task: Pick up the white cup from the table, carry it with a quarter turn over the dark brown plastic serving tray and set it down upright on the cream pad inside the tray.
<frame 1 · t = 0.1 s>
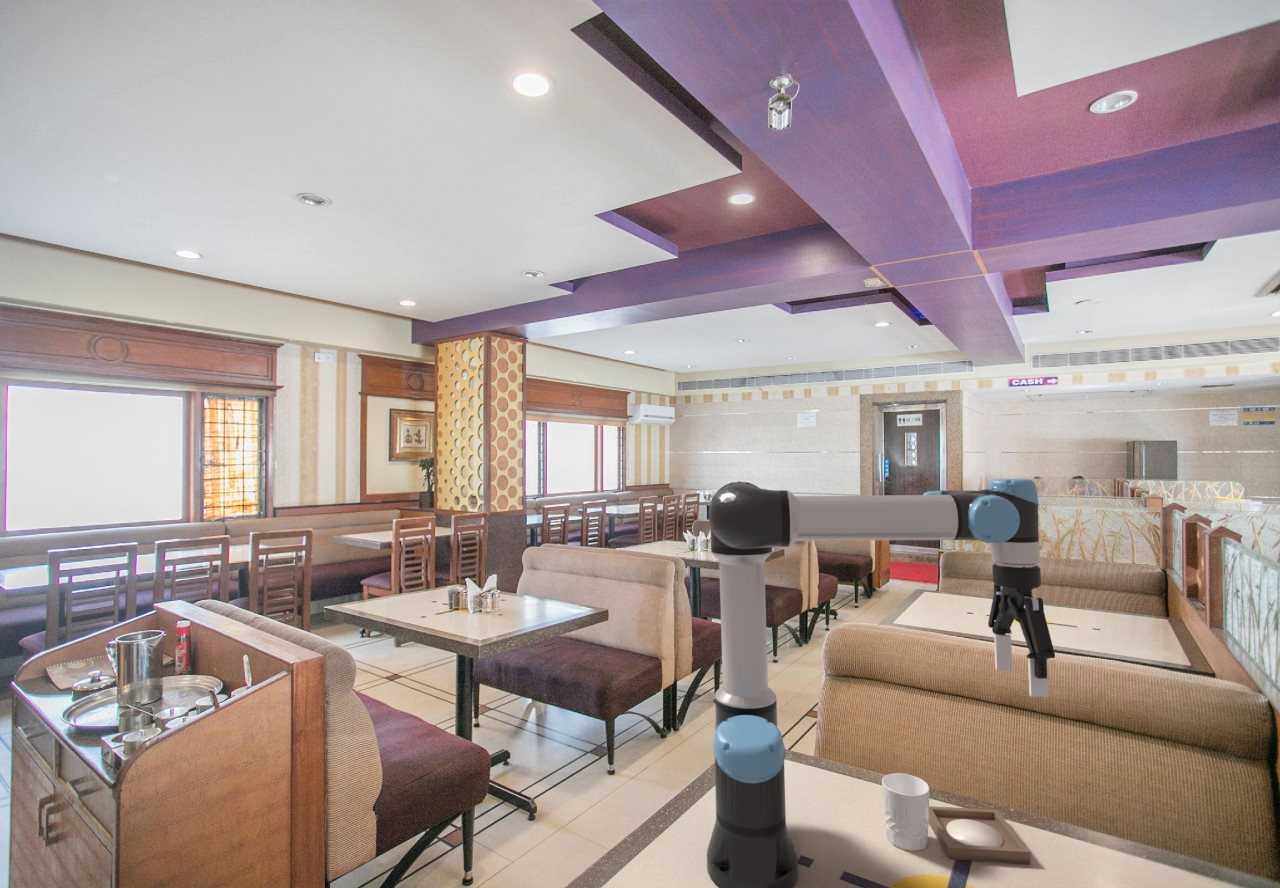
hand: (1020, 682, 114), 28 cm above the table, tool pointing down, fingers open, 13 cm apart
tray: (974, 838, 113), on the table
white cup: (907, 841, 114), on the table
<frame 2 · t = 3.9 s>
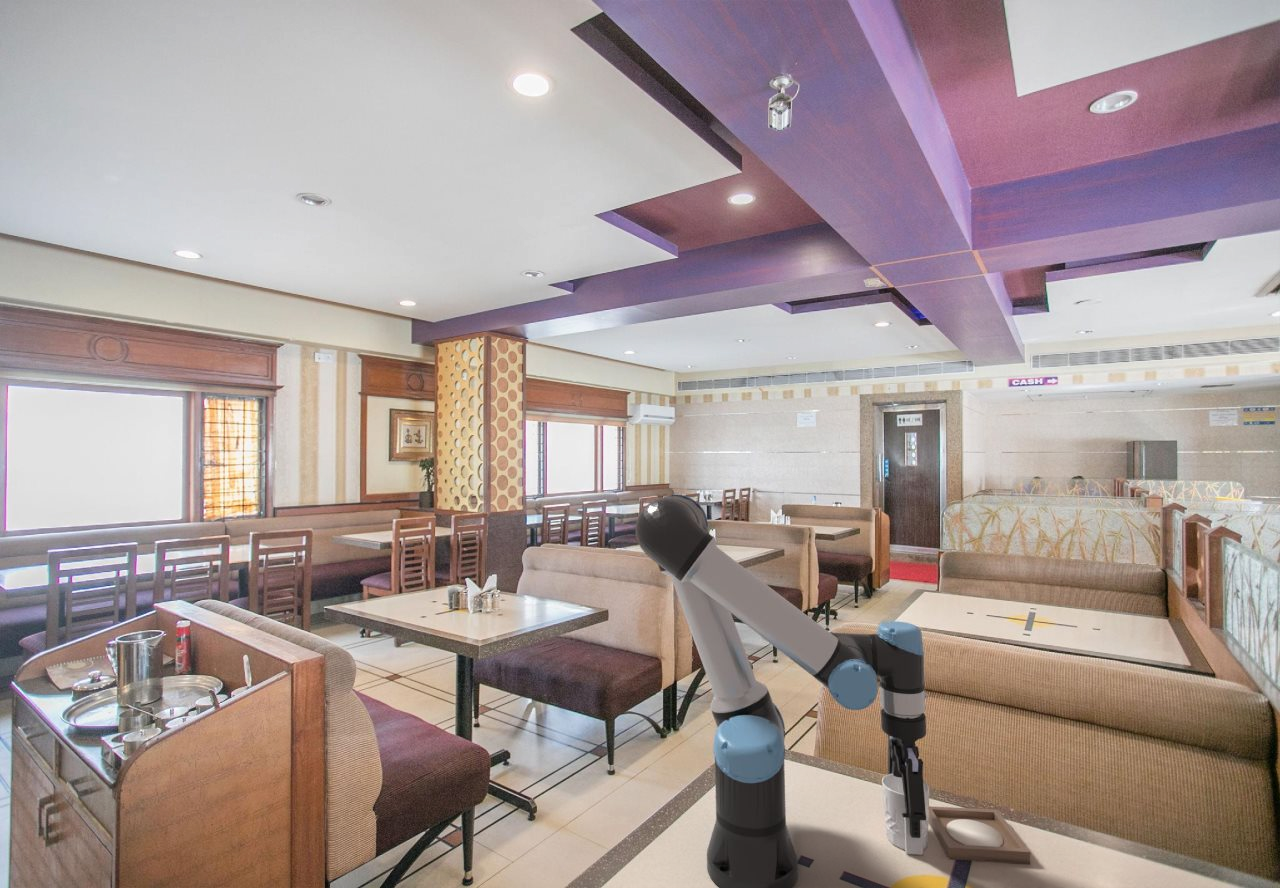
hand: (907, 838, 114), 0 cm above the table, tool pointing down, fingers closed on white cup, 8 cm apart
white cup: (907, 841, 114), on the table, touching gripper
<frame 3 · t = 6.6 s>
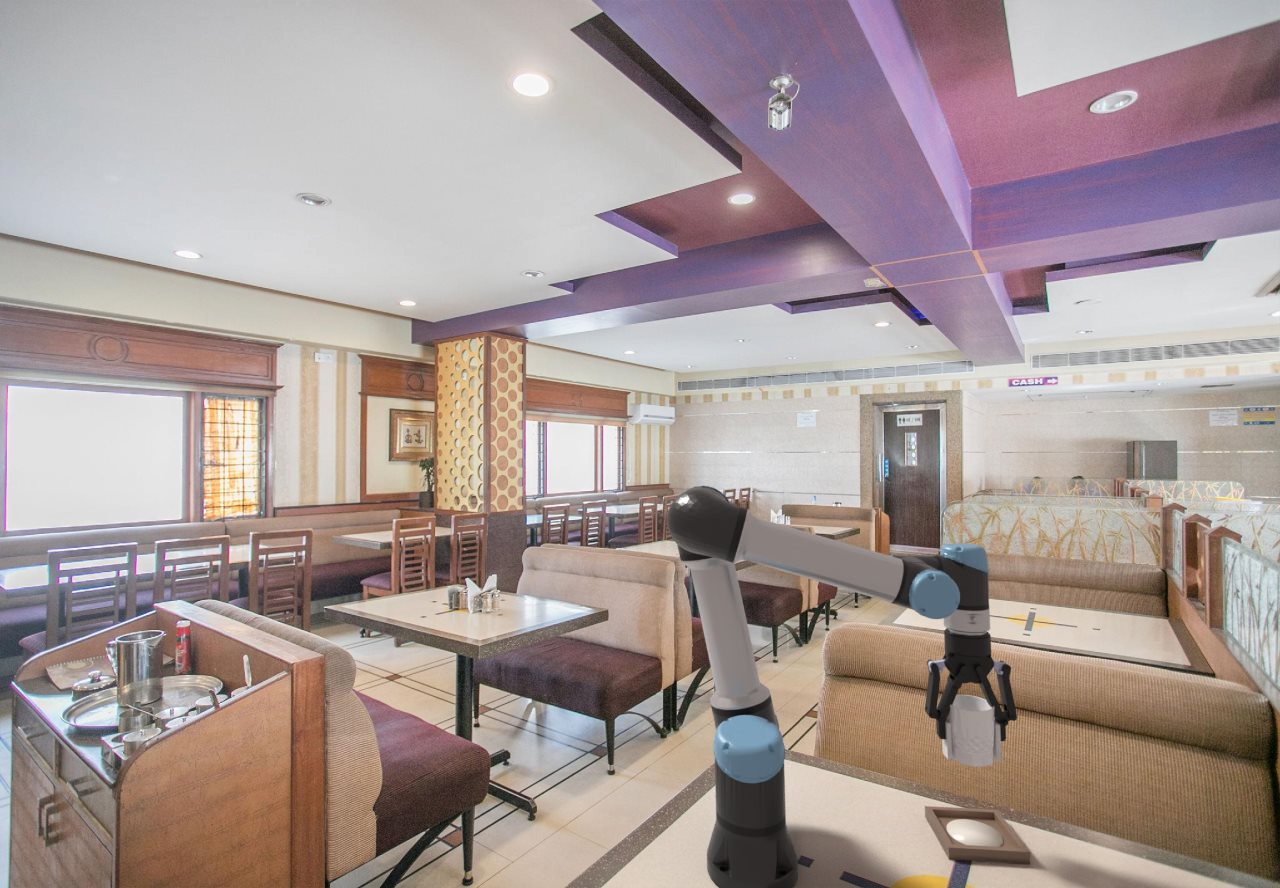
hand: (971, 757, 114), 15 cm above the table, tool pointing down, fingers closed on white cup, 8 cm apart
white cup: (971, 759, 114), point 14 cm above the table, touching gripper
when the fingers open (3 cm above the table, at t = 9.3 s): white cup drops 2 cm, resting on tray.
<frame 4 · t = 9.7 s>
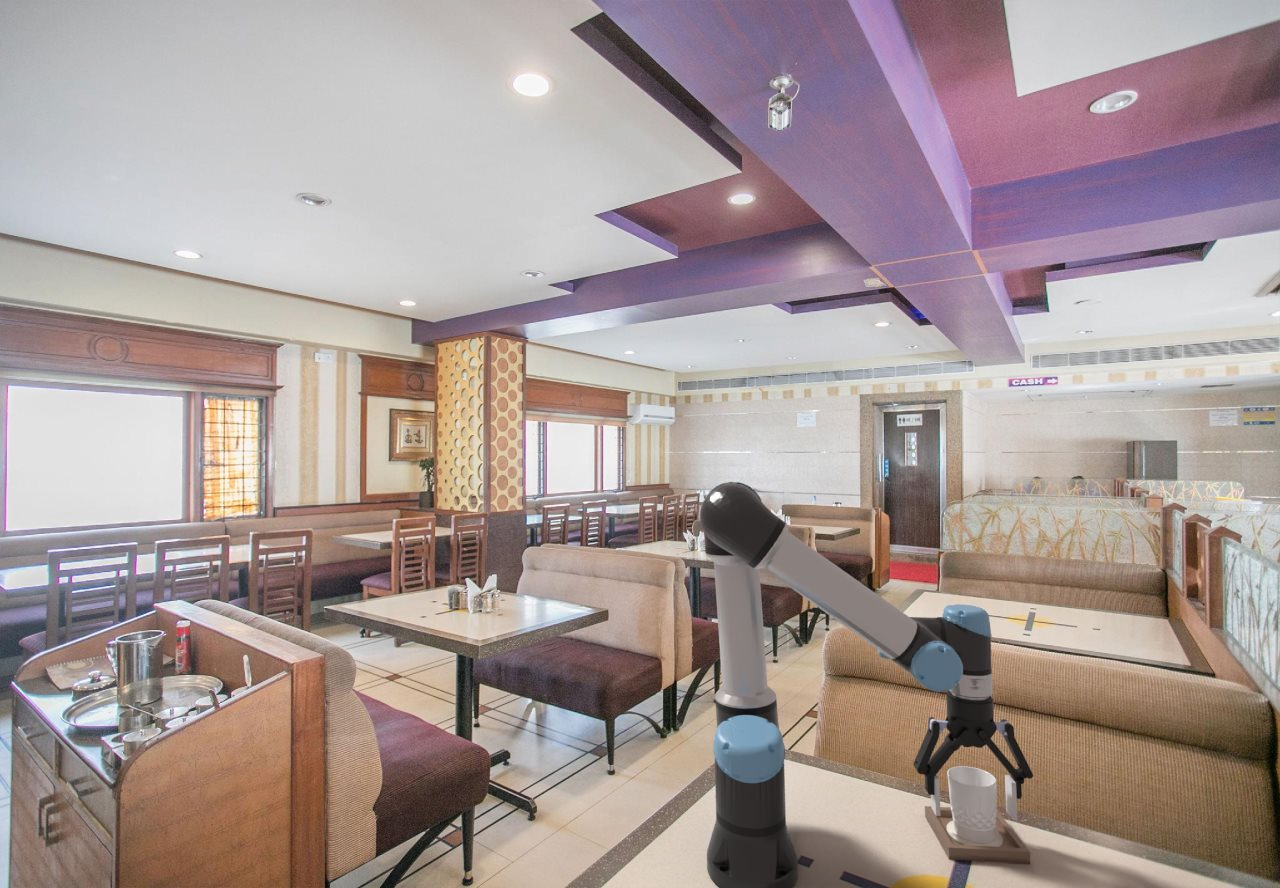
hand: (973, 814, 114), 4 cm above the table, tool pointing down, fingers open, 12 cm apart
white cup: (974, 834, 114), point 1 cm above the table, touching tray
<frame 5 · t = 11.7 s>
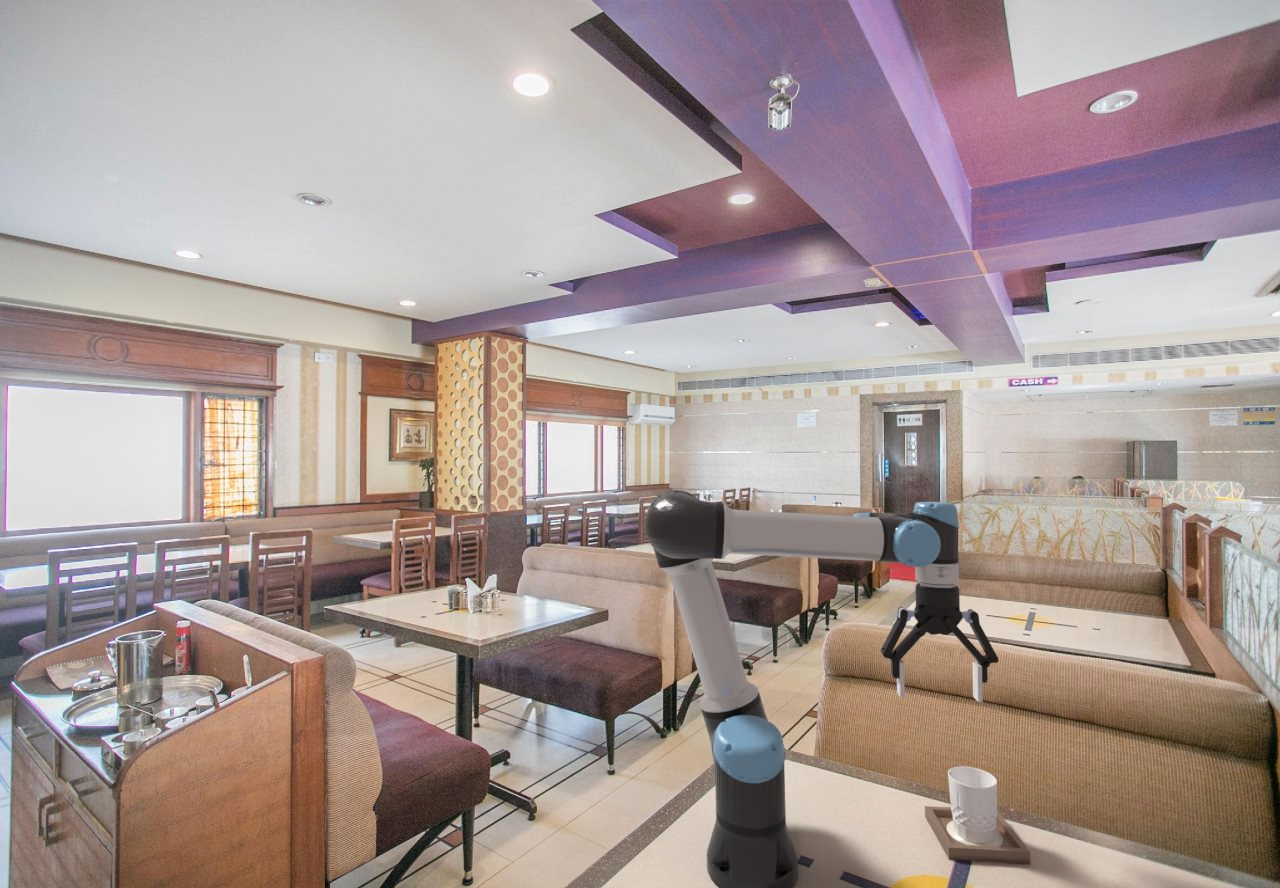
hand: (938, 697, 119), 24 cm above the table, tool pointing down, fingers open, 13 cm apart
nothing on the table moved.
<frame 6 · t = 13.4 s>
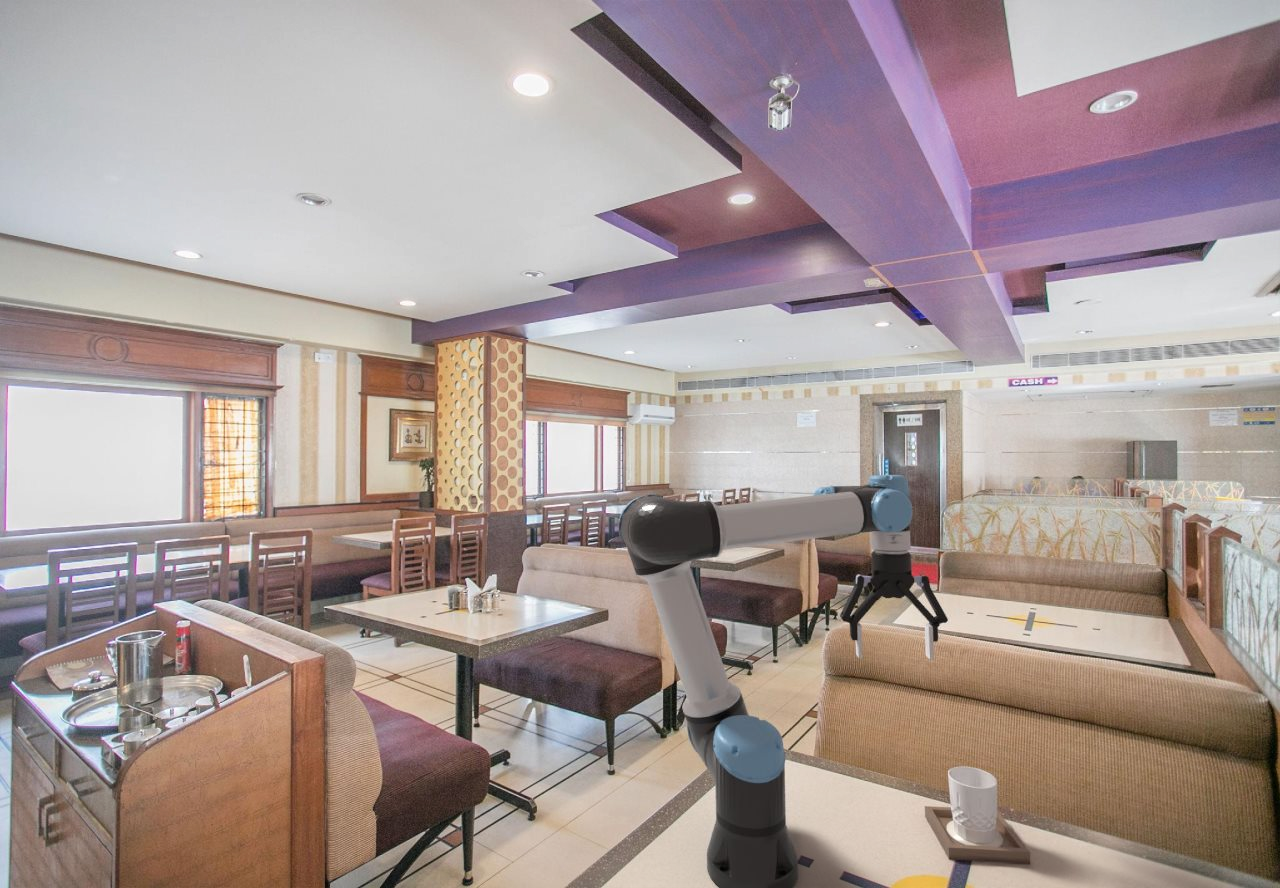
hand: (894, 657, 127), 29 cm above the table, tool pointing down, fingers open, 13 cm apart
nothing on the table moved.
at the end: white cup inside the target area on the tray (0.0 cm from its centre), point 0.8 cm above the tray's base; white cup tilted 0°; the gripper is holding nothing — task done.
